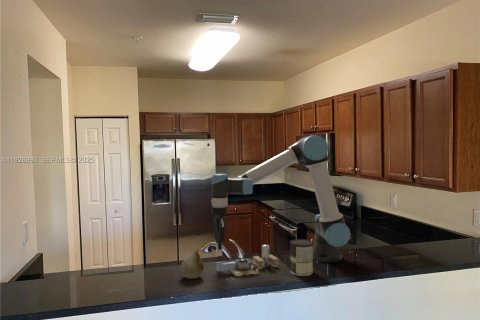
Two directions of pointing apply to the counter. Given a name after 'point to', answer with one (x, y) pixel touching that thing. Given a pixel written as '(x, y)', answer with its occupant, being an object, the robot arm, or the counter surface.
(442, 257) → the counter surface
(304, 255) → the coffee can
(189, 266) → the fruit
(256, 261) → the slot rails
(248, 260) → the grey metal pan
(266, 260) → the pin
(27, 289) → the counter surface
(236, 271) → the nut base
